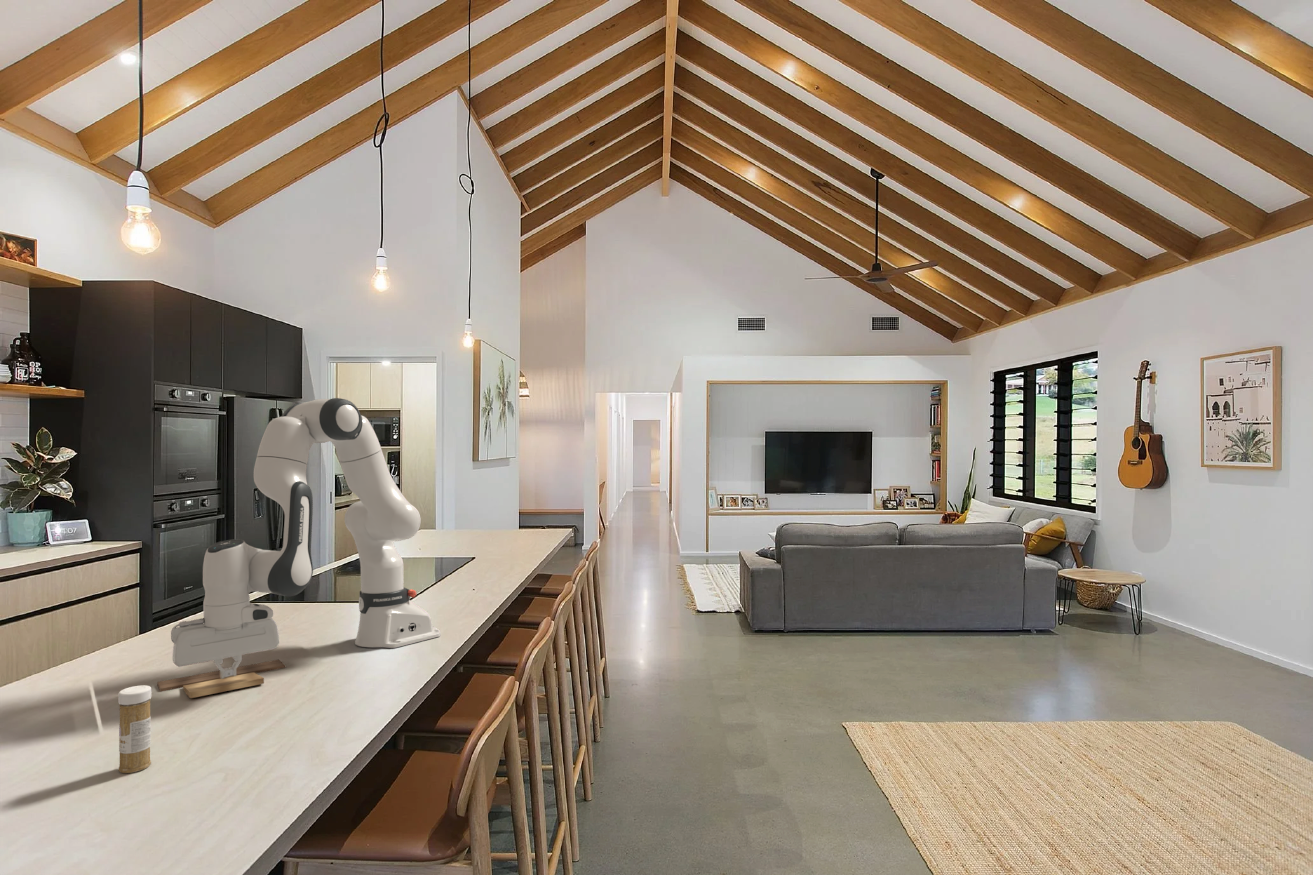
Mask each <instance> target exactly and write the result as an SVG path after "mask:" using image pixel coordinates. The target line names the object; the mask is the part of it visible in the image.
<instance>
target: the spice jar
mask: <svg viewBox="0 0 1313 875" xmlns="http://www.w3.org/2000/svg"><path fill="white" fill-rule="evenodd" d="M117 696H118V697H117V699H118V700H117V701H118V705H119V724H118V725H119V727H118V728H119V730H118V731H119V733H118V734H119V736H118V739H119V740H118V741H119V743H118V752H119V764H118V765H119V766H118V772H120V773H121V774H131V773H136V772H140V771H143V770H146V769H147V768H149V767H150V765H152V760H151V745H152V744H151V743H152V742H151V741H152V740H151V737H152V736H151V735H152V734H151V732H152V722H151V721H152V720H151V719H152V718H151V701H152V700H151V698H152V687H151V686H150V685H146V684H145V685H144V684H143V685H133V686H130V687H125V688H124V689H123V688H122V689H121V690H120V691H119V692H118V694H117Z"/></svg>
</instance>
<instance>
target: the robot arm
mask: <svg viewBox="0 0 1313 875" xmlns="http://www.w3.org/2000/svg"><path fill="white" fill-rule="evenodd" d="M328 442H330V443H331V444H332V445H333V446H334V448H335V452H336V455H337V459H338V462H339V464H340V468H341V470H342V473H343V475H344V479H345V481H346V484H347V487H348V489H349V490H350V491H351V492H352V493H353V494H354V495H355V496H356V497H357V498H358V499H359V501H355V502H354V503H352V504H350V505H349V506H348V508H347V509H346V511H345V513H344V518H343V520H344V525H345V528H346V530H348V531H349V533H350V535H352V536H351V537H352V538H353V540H354V544H355V546H356V547H355V548H356V551H357V554H358V558H359V563H360V564H359V565H360V566H359V567H360V591H359V595H358V596H359V597H358V608H359V609H358V610H359V622H358V630H357V633H356V637H355V640H354V644H355V646H358V647H362V648H386V649H387V648H388V649H389V648H390V649H394V648H399V647H403V646H407V645H411V644H414V643H415V644H416V643H419V642H423V641H426V640H427V641H428V640H430V639H435V638H438V637H440V636H441V630H440V629H439V628H437V627H436V626H433V622H432V618H431V614H430V613H429V612H428V611H427V610H426V609H424V608H423V607H422V606H419V605H418V604H417V603H415V602H414V601H412V600H411V598H416V596H417V591H416V590H415V589H409V588H406V587H404V584H405V583H404V580H405V579H404V575H405V574H404V559H403V558H402V556H401V555H400V553H399V552H398V550H397V548H396V546H395V543H394V542H400V541H405V540H409V539H411V538H413V537H414V536H416V535H417V533H418V532H419V529H420V527H421V522H422V519H421V515H420V512H419V510H418V509H417V508H416V506H414V505H413V504H411V503H410V502H409V500H408V499H407V498H406V497H405V495H403V493H402V491H401V490H400V488H399V487H398V485H397V483H396V482H395V481H394V479H393V477H392V475H391V473H390V470H389V467H388V464H387V462H386V458H385V456H384V453H383V449H382V446H381V444H380V442H379V439H378V436H377V434H376V432H375V430H374V428H373V426H372V424H371V422H370V421H369V420H368V418H367V417H366V416H364V415H361V412H360V410H359V408H358V407H357V406H356V404H355V403H353V402H352V401H350V400H348V399H345V398H340V397H333V398H318V399H313V400H310V401H306V402H298V403H296V404H292V405H291V406H289V407H288V408H286V409H285V410H284V412H283V413H282V415H281V416H279V417H275V418H273V419H271V420H270V421H269V422H268V424H267V425H266V428H265V430H264V432H263V435H262V438H261V440H260V443H259V446H258V451H257V454H256V459H255V463H254V466H253V483H254V484H255V486H256V487H257V489H258V491H260V492H261V493H262V494H263V495H264V496H265V497H267V498H269V499H271V500H273V501H275V502H276V503H277V504H279V505H280V507H281V508H282V510H283V514H284V526H283V542H282V548H281V550H269V549H262V548H258V547H254V546H252V545H249V544H247V543H246V541H245V540H243V539H239V538H237V539H236V538H235V539H227V540H221V541H218V542H214V543H213V544H211V545H210V546H209V547H207V549H206V550H205V554H204V558H203V564H202V585H203V589H204V593H205V594H204V599H203V603H202V604H203V605H202V606H203V610H202V612H203V618H202V617H201V618H198V619H197V618H196V619H192V620H188V621H187V620H185V621H184V620H183V621H179V623H178V624H176V625H174V626H173V627H172V629H171V631H170V639H171V642H172V643H173V649H172V662H173V663H174V664H175V665H176V667H179V668H181V667H186V666H191V665H196V664H201V663H207V662H208V663H209V662H212V661H213V663H214V665H215V667H217V669H218V671H219V670H220V678H221V679H224V678H228V677H234V676H236V668H237V667H240V666H239V665H240V664H241V662H242V660H243V656H244V655H249V654H254V653H260V652H265V651H270V650H276V649H277V647H278V646H279V645H280V633H279V628H278V624H277V621H275V619H274V618H273V616H274V610H273V608H271V607H270V606H268V605H266V604H264V603H253V602H251V601H250V597H251V596H250V593H252V592H257V593H264V594H265V593H266V594H274V595H279V596H284V597H295V596H297V595H298V594H300V593H302V592H303V591H304V590H305V589H306V588H307V587H308V585H309V584H310V583H311V580H312V578H313V575H314V574H313V573H314V566H313V565H314V564H313V559H312V538H313V537H312V535H313V534H312V532H313V531H312V530H313V515H314V514H313V513H314V512H313V511H314V510H313V509H314V506H313V505H314V503H313V492H312V489H311V487H310V486H309V485H308V482H307V467H308V461H309V454H310V450H311V447H312V446H313V445H314V444H323V443H328ZM229 658H232V659H233V660H234V661H233V663H232V665H231V667H225V668H223V666H222V664H223V663H224V659H229Z"/></svg>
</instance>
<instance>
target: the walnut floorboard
mask: <svg viewBox="0 0 1313 875" xmlns="http://www.w3.org/2000/svg"><path fill="white" fill-rule="evenodd" d="M285 668H286V664H285V663H284V662H283V661H281V660H280V659H274V660H267V661H263V662H256V663H251V664H247V665H241V666H238V667H237V668H236V675H241V674H247V673H252V672H254V673H256V674H260V673H265V672H270V671H274V670H280V669H285ZM215 679H221V678H220V670H219V669H218V670H214V671H209V672H204V673H199V674H193V675H188V676H182V677H177V678H172V679H171V678H170V679H166V680H161V681H157V682H156V684H157V685H156V686H157V687H158V689H159V692H160V693H162V692H166V691H172V690H177V689H183V686H184V685H189V684H195V683H200V682H205V681H210V680H215Z"/></svg>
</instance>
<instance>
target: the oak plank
mask: <svg viewBox="0 0 1313 875" xmlns="http://www.w3.org/2000/svg"><path fill="white" fill-rule="evenodd" d="M263 684H265V679H264V677H263V676H261V675H260V674H259V673H254V672H252V673H247V674H241V675H236V676H234V677H228V678H224V679H215V680H210V681H205V682H200V683H195V684H189V685H184V686H183V688H182V690H184V693H185V694H186V696H187V697H188V698H190V699H194V698H199V697H205V696H208V695H213V694H218V693H223V692H227V691H233V690H238V689H244V688H248V687H253V686H258V685H263Z"/></svg>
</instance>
